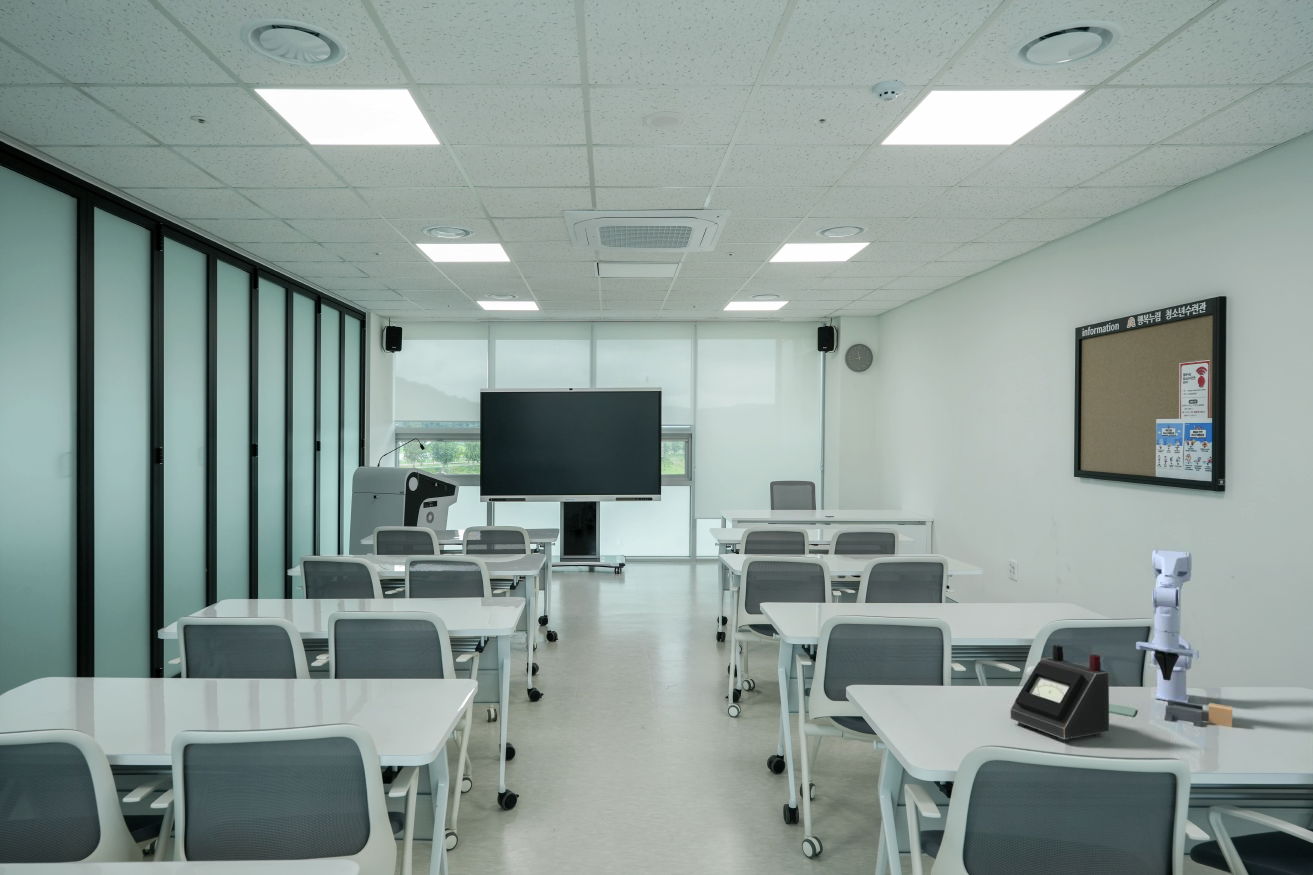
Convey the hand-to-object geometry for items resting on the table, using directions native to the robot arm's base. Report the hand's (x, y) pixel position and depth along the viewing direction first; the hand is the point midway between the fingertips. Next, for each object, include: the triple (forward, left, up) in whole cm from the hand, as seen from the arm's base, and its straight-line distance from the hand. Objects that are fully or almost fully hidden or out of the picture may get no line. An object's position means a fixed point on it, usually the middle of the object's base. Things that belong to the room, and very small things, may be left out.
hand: (1166, 679), depth 212 cm
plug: (0, +8, -9) cm, 12 cm away
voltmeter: (+36, -21, -10) cm, 43 cm away
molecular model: (+18, -28, -10) cm, 35 cm away
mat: (+6, -11, -9) cm, 16 cm away
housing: (0, +4, -9) cm, 10 cm away
